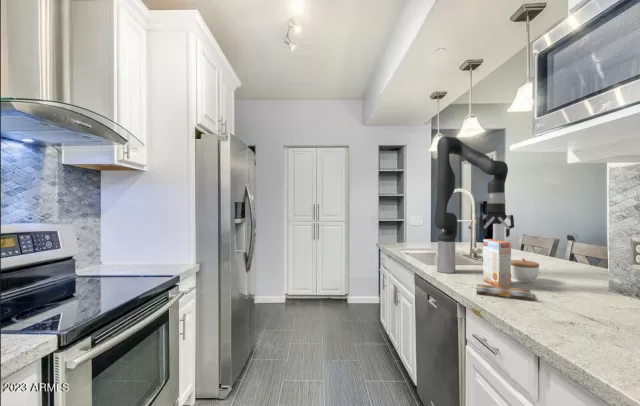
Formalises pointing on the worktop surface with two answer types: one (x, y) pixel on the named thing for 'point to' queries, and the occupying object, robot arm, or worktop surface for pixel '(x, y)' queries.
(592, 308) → the worktop surface
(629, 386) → the worktop surface
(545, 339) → the worktop surface
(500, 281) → the cracker box
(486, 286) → the brown book
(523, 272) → the lidded bowl
